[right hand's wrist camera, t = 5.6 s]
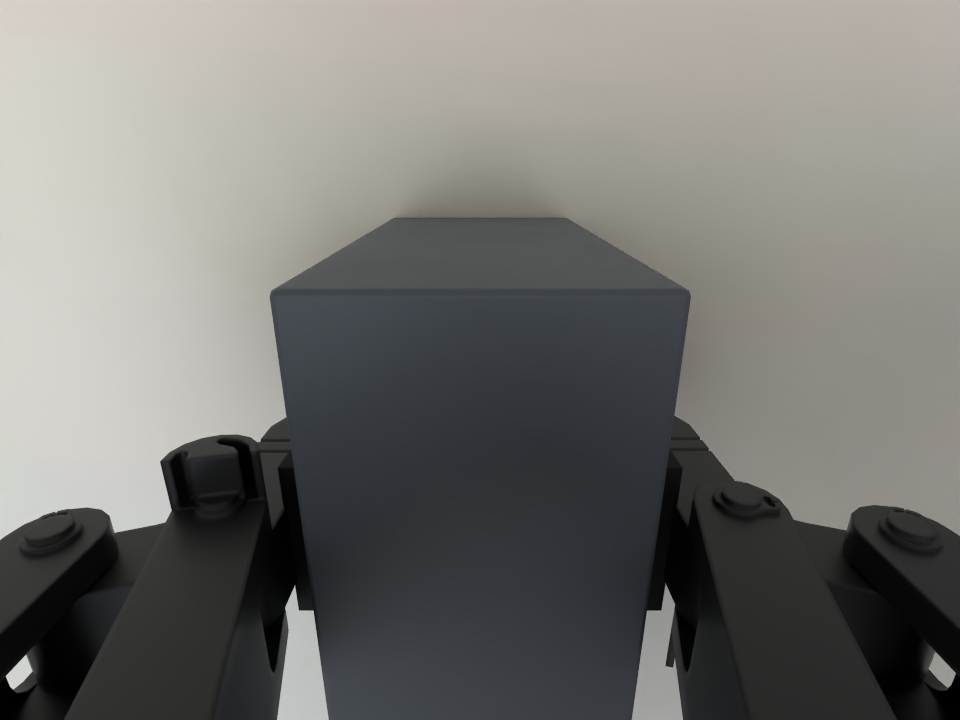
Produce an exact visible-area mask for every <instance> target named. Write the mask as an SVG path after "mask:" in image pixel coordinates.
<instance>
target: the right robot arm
mask: <svg viewBox="0 0 960 720" xmlns="http://www.w3.org/2000/svg"><path fill="white" fill-rule="evenodd" d="M708 449H709V448H708V447H707V446H706V445H705V443H704V442H703V441H702V440H700V437H699V436H698V435H697V434H696V432H695V431H694V430H693V429H692V427H691V426H690V425H689V424H687V423H686V422H684V421H682V420H681V419H679V418H677V417H676V416H674V420H673V427H672V434H671V441H670V448H669V455H668V462H667V470H666V477H665V484H664V491H663V498H662V505H661V512H660V520H659V527H658V534H657V541H656V548H655V555H654V562H653V570H652V577H651V584H650V591H649V598H648V605H647V610H661V609H662V602H663V595H664V589H665V582H666V585H667V587H668V589H669V591H670V594H671V596H672V598H673V600H674V603H675V610H674V616H673V622H672V628H671V635H670V641H669V647H668V653H667V660H666V666H668V667H673V664H674V659H675V660H676V668H677V676H678V683H679V691H680V698H681V706H682V714H683V720H960V536H958V535H957V534H956V533H954V532H952V531H951V530H949V529H948V528H946V527H944V526H943V525H941V524H939V523H938V522H936V521H933V520H931V519H929V518H926V517H924V516H922V515H921V514H919V513H917V512H913V511H910V510H907V509H906V510H904V509H903V508H898V507H887V506H877V505H872V506H866V507H859V508H858V509H857V510H856V511H854V512H853V513H852V514H851V518H850V521H849V525H848V528H847V531H846V530H840V529H835V528H830V527H825V526H819V525H814V524H809V523H804V522H800V521H796V520H793V518H792V516H791V514H790V512H789V510H788V509H787V508H786V507H785V505H784V504H783V503H782V502H781V501H780V500H779V499H778V498H776V497H775V496H773V495H772V494H770V493H769V492H767V491H766V490H763V489H761V488H758V487H756V486H753V485H751V484H748V483H743V482H738V481H735V480H734V479H733V478H732V477H731V475H730V474H729V473H728V472H727V471H726V469H725V468H724V467H723V466H722V464H721V463H720V462H719V461H718V459H717V458H716V457H715V456H714V455H713V453H712V452H711V451H709V450H708ZM160 463H161V467H162V471H163V475H164V480H165V484H166V488H167V492H168V496H169V500H170V505H171V509H172V511H171V513H170V515H169V517H168V519H167V521H166V523H162V524H158V525H154V526H148V527H143V528H138V529H133V530H128V531H122V532H117V533H114V530H113V527H112V523H111V520H110V516H109V515H108V514H106V513H105V512H104V511H102V510H99V509H93V508H79V509H66V510H61V511H58V512H57V513H55V512H53V513H50V514H46V515H44V516H42V517H40V518H39V519H36V520H34V521H32V522H29V523H27V524H25V525H23V526H21V527H20V528H18V529H16V530H15V531H13V532H12V533H10V534H8V535H7V536H5V537H4V538H3V539H1V540H0V720H277V715H278V707H279V700H280V692H281V684H282V677H283V669H284V661H285V654H286V646H287V639H288V631H289V630H288V623H287V616H286V610H285V606H286V604H287V602H288V599H289V597H290V595H291V593H292V590H293V588H294V586H295V587H296V593H297V600H298V606H299V610H314V609H313V602H312V595H311V587H310V580H309V573H308V566H307V559H306V552H305V544H304V537H303V530H302V523H301V516H300V509H299V501H298V494H297V487H296V480H295V473H294V466H293V458H292V451H291V444H290V437H289V430H288V423H287V417H286V418H285V419H283V420H281V421H280V422H278V423H276V424H275V425H273V426H271V427H270V429H269V430H268V431H267V432H266V434H265V435H264V436H263V437H262V439H261V442H258V443H257V442H256V441H255V440H253V439H252V438H251V437H246V436H241V435H218V436H212V437H207V438H202V439H199V440H196V441H193V442H190V443H187V444H184V445H182V446H180V447H179V448H177V449H175V450H173V451H171V452H170V453H169V454H168V455H166V456H165V457H164V458H163V459H162V460H161V461H160ZM935 652H936V653H937V654H938V655H939V656H940V657H941V658H942V659H943V660H944V661H945V662H946V663H947V664H948V665H949V666H950V667H951V668H952V669H953V670H954V671H955V672H956V675H955V678H954V680H953V682H952V685H951V686H950V687H949V688H947V687H946V686H945V685H944V684H942V683H941V682H940V681H939V680H938V679H937V678H936V677H935V676H934V675H933V674H932V672H931V671H930V670H929V667H930V664H931V662H932V659H933V657H934V654H935ZM25 655H27V658H28V660H29V663H30V665H31V668H32V670H33V672H32V673H31V674H30V675H29V676H28V677H27V678H26V679H25V681H24V682H23V683H21V684H20V685H19V686H18V687H16V688H15V689H14V690H13V689H12V688H10V686H9V683H8V681H7V679H6V675H7V674H8V673H9V672H10V671H11V670H12V669H13V668H14V667H15V665H16V664H17V663H18V662H19V661H20V660H21V659H22V658H23V657H24V656H25Z"/></svg>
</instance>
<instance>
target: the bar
mask: <svg viewBox="0 0 960 720" xmlns="http://www.w3.org/2000/svg"><path fill="white" fill-rule="evenodd" d="M690 298H691V296H690V292H689V290H687V289H685V288H684V287H682V286H680V285H679V284H677V283H675V282H673V281H672V280H670V279H668V278H667V277H665V276H663V275H662V274H660V273H658V272H657V271H655V270H653V269H651V268H650V267H648V266H646V265H645V264H643V263H641V262H640V261H638V260H636V259H635V258H633V257H631V256H629V255H628V254H626V253H624V252H623V251H621V250H619V249H618V248H616V247H614V246H613V245H611V244H609V243H607V242H606V241H604V240H602V239H601V238H599V237H597V236H596V235H594V234H592V233H591V232H589V231H587V230H585V229H584V228H582V227H580V226H579V225H577V224H575V223H574V222H572V221H570V220H569V219H566V218H394V219H392V220H390V221H388V222H387V223H385V224H383V225H382V226H380V227H378V228H377V229H375V230H373V231H372V232H370V233H368V234H366V235H365V236H363V237H361V238H360V239H358V240H356V241H355V242H353V243H351V244H350V245H348V246H346V247H345V248H343V249H341V250H339V251H338V252H336V253H334V254H333V255H331V256H329V257H328V258H326V259H324V260H323V261H321V262H319V263H318V264H316V265H314V266H312V267H311V268H309V269H307V270H306V271H304V272H302V273H301V274H299V275H297V276H296V277H294V278H292V279H291V280H289V281H287V282H285V283H284V284H282V285H280V286H279V287H277V288H275V289H274V290H272V291H271V295H270V301H271V308H272V315H273V322H274V329H275V337H276V344H277V351H278V358H279V365H280V372H281V380H282V387H283V394H284V401H285V408H286V415H287V423H288V430H289V437H290V444H291V451H292V458H293V466H294V473H295V480H296V487H297V494H298V501H299V509H300V516H301V523H302V530H303V537H304V544H305V552H306V559H307V566H308V573H309V580H310V587H311V595H312V602H313V609H314V616H315V623H316V630H317V638H318V645H319V652H320V659H321V666H322V673H323V681H324V688H325V695H326V702H327V709H328V716H329V720H632V713H633V705H634V698H635V691H636V684H637V677H638V670H639V663H640V655H641V648H642V641H643V634H644V627H645V620H646V613H647V605H648V598H649V591H650V584H651V577H652V570H653V562H654V555H655V548H656V541H657V534H658V527H659V520H660V512H661V505H662V498H663V491H664V484H665V477H666V470H667V462H668V455H669V448H670V441H671V434H672V427H673V420H674V412H675V405H676V398H677V391H678V384H679V377H680V370H681V362H682V355H683V348H684V341H685V334H686V327H687V320H688V312H689V305H690Z"/></svg>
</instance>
